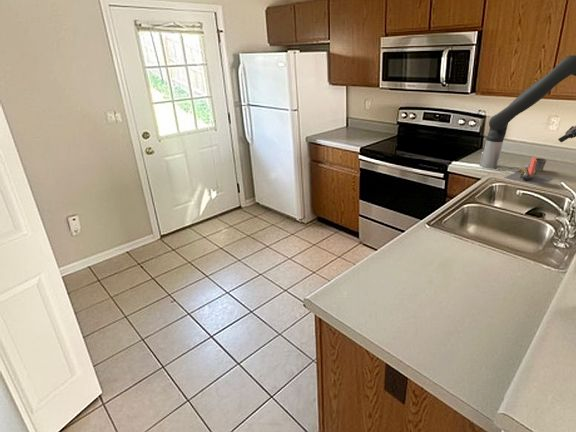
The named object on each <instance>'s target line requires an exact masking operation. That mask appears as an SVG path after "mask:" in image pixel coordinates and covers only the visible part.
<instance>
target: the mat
mask: <svg viewBox="0 0 576 432" xmlns="http://www.w3.org/2000/svg"><path fill="white" fill-rule="evenodd" d="M520 174H521V171H520V170H518V171H516V172H514V173H512V174H510V175H507V176H505V177H503V179H508V180H512V181H516V182H521V183H523V184H524V183H525V184H529V185H534V186H538V187H542V186H544V185H546V184H547V183H549V182H551V181H553V180H554V179H555V177H550V176H545V175H541V174H534V178H533V180H530V181H524V180H523V178H520Z"/></svg>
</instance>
